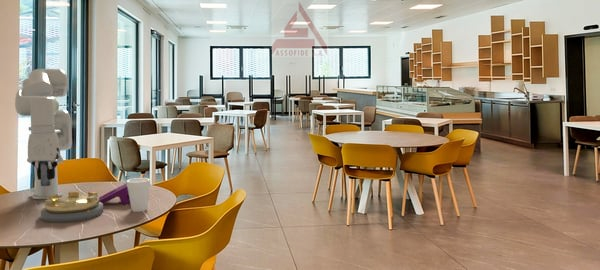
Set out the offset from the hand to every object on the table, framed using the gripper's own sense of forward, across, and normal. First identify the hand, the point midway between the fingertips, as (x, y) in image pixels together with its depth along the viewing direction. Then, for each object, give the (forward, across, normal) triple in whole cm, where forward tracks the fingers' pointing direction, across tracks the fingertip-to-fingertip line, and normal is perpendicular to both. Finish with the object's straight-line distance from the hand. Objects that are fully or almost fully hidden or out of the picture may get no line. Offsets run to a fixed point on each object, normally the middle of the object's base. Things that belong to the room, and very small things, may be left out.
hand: (46, 178), depth 166 cm
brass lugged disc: (+15, 0, +17) cm, 23 cm away
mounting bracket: (+19, +10, +36) cm, 42 cm away
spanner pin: (+3, 0, -1) cm, 3 cm away
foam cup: (+19, +25, +25) cm, 40 cm away
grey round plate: (+19, 0, +17) cm, 25 cm away
